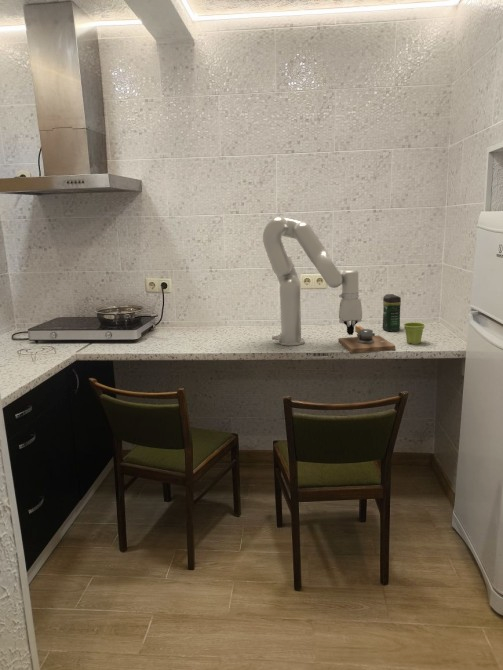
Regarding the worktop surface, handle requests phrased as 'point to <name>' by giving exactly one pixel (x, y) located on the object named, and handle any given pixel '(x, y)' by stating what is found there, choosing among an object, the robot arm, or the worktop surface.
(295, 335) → the robot arm
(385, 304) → the coffee jar
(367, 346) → the wooden cutting board
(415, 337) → the plant pot
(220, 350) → the worktop surface
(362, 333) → the portafilter
